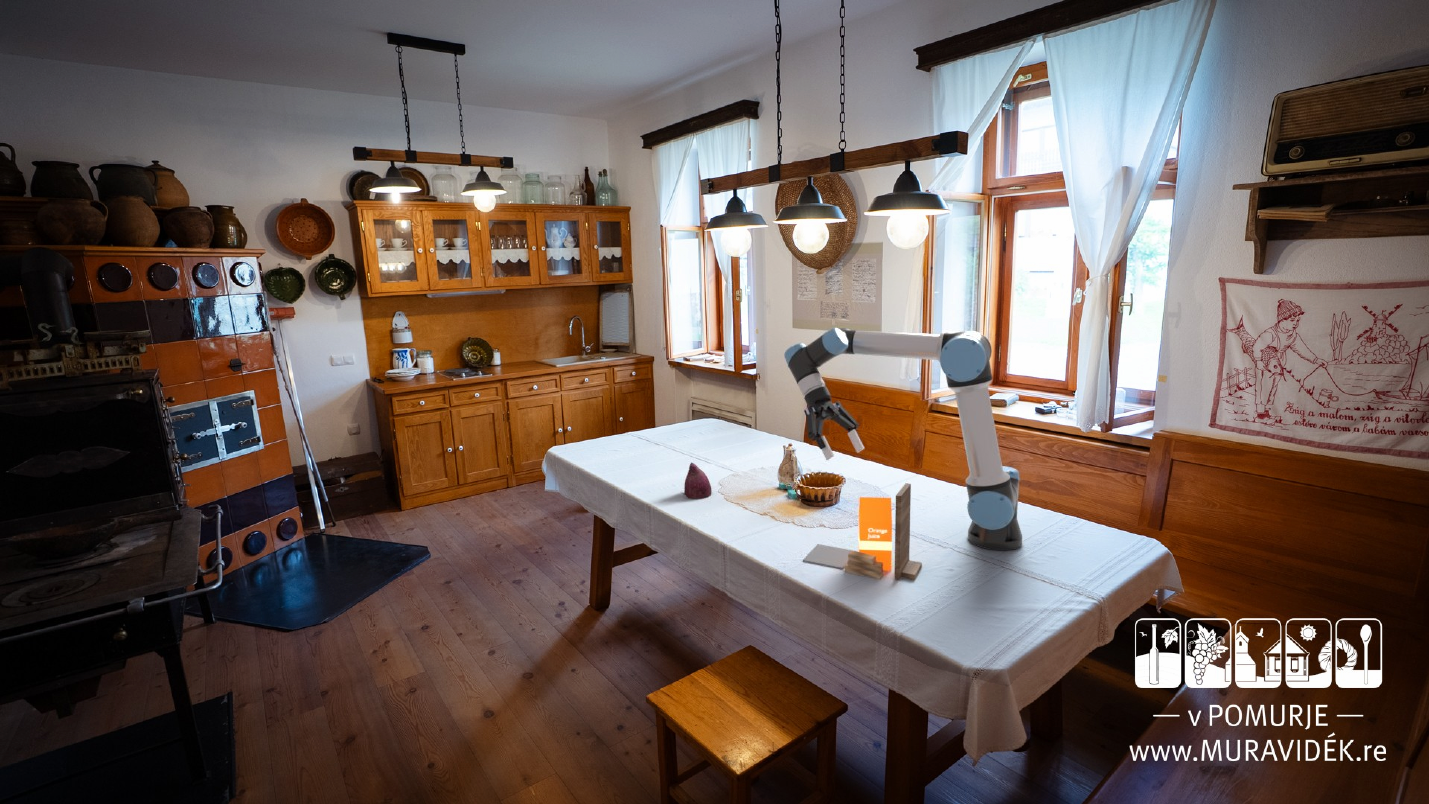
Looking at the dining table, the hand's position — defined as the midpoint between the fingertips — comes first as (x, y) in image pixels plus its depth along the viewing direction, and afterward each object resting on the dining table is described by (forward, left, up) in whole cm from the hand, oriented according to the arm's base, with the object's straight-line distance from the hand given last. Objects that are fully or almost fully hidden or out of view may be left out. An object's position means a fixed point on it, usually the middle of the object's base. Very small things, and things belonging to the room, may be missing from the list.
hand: (846, 454), depth 194 cm
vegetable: (+65, -22, -30) cm, 75 cm away
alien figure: (+26, -41, -30) cm, 57 cm away
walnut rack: (-14, +9, -29) cm, 34 cm away
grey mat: (+2, +8, -29) cm, 30 cm away
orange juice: (-11, +7, -30) cm, 32 cm away
